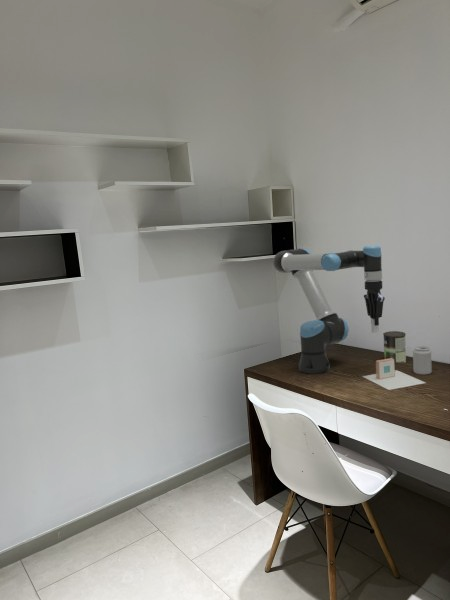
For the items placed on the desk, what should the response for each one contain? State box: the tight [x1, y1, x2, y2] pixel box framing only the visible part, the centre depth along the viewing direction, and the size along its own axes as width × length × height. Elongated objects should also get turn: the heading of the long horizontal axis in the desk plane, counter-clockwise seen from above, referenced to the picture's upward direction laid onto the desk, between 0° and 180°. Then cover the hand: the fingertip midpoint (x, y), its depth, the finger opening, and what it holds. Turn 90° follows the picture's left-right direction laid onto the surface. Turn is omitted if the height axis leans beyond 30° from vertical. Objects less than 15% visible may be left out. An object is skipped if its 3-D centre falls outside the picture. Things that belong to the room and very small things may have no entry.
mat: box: [362, 369, 426, 391], centre depth 201 cm, size 20×18×1 cm
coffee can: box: [383, 330, 407, 364], centre depth 227 cm, size 10×10×14 cm
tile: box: [375, 358, 396, 379], centre depth 204 cm, size 2×8×8 cm, turn 105°
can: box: [412, 345, 433, 375], centre depth 207 cm, size 8×8×12 cm
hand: (375, 332), depth 208 cm, fingers closed
